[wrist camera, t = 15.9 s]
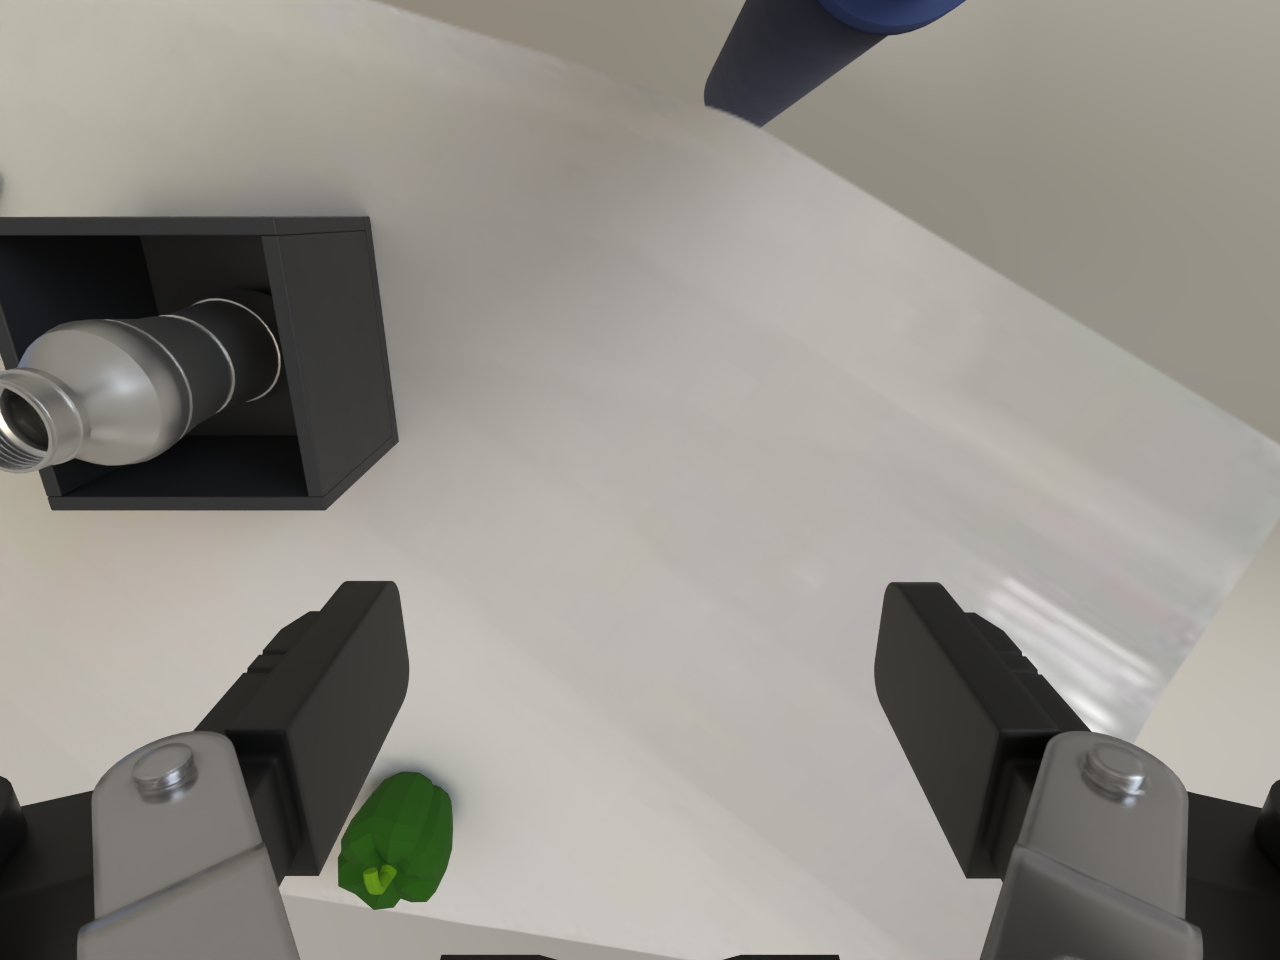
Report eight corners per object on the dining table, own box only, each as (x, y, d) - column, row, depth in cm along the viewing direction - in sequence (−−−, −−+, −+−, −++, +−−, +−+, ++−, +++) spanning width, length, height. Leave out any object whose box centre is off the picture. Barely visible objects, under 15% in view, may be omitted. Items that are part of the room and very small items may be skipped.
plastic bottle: (271, 264, 43) (-11, 302, 24) (341, 358, 45) (131, 459, 26) (193, 318, 44) (-133, 393, 25) (265, 407, 46) (12, 537, 28)
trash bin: (133, 216, 43) (-46, 217, 32) (369, 216, 43) (274, 217, 32) (188, 442, 48) (50, 511, 37) (398, 442, 48) (325, 511, 37)
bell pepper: (455, 841, 61) (421, 954, 52) (362, 821, 60) (310, 931, 51) (475, 770, 58) (443, 875, 49) (377, 747, 58) (326, 850, 48)
